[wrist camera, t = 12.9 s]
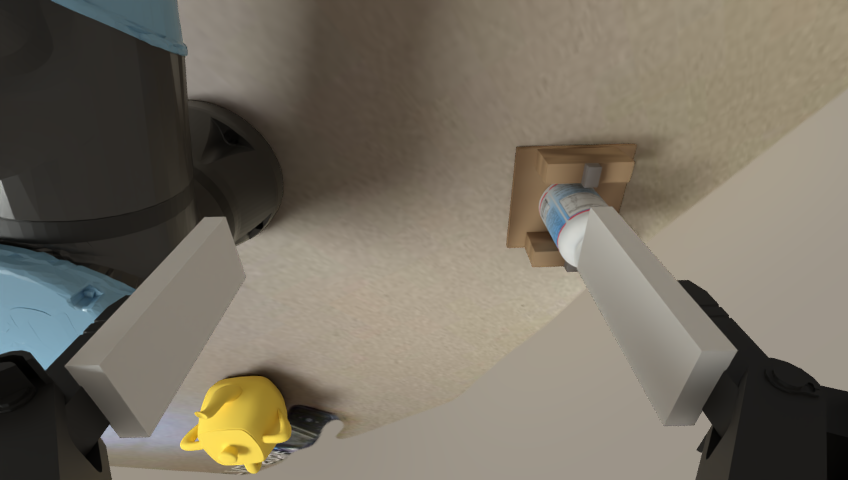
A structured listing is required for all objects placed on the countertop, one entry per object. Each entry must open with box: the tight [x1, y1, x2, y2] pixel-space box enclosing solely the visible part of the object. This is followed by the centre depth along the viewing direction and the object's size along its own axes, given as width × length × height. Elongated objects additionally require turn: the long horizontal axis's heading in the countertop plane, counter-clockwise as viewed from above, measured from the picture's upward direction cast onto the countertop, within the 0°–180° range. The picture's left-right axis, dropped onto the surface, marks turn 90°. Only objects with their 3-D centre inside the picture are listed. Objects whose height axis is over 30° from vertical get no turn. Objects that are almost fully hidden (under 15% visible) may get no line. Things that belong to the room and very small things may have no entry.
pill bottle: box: [539, 183, 609, 267], centre depth 38 cm, size 6×6×11 cm
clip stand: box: [506, 144, 637, 272], centre depth 41 cm, size 12×12×6 cm
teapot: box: [180, 376, 291, 474], centre depth 57 cm, size 14×13×10 cm
